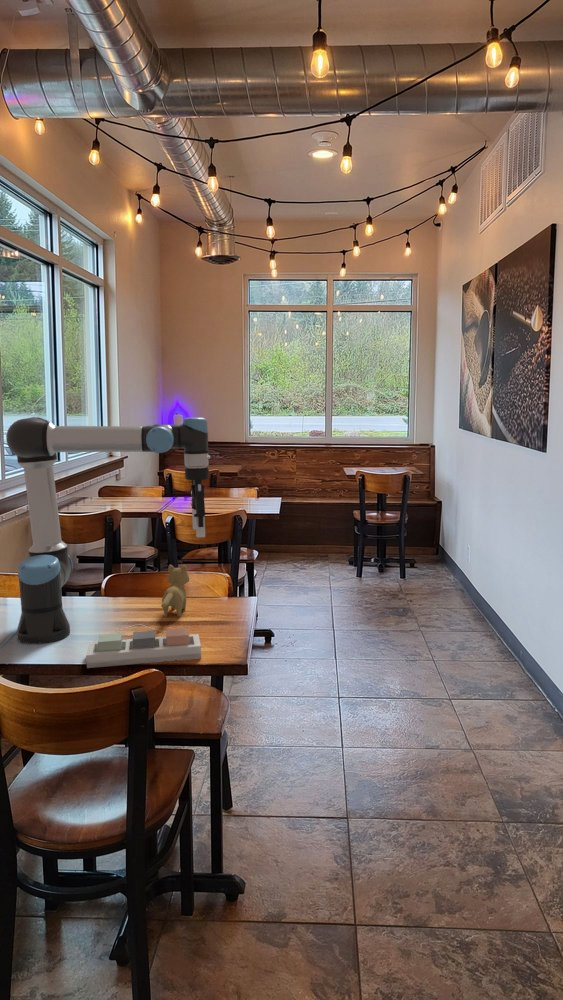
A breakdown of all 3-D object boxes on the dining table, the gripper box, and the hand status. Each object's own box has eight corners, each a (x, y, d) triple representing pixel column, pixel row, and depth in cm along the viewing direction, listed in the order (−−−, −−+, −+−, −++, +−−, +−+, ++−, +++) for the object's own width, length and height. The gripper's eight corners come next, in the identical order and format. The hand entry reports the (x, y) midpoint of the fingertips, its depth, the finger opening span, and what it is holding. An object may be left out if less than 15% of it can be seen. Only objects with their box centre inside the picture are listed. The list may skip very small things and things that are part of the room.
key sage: (98, 650, 185) (97, 642, 185) (99, 642, 191) (99, 634, 191) (121, 648, 187) (121, 640, 186) (122, 641, 192) (121, 632, 192)
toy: (193, 604, 239) (191, 561, 237) (175, 627, 215) (173, 580, 213) (172, 603, 240) (170, 561, 237) (152, 627, 216) (150, 579, 213)
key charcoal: (132, 647, 187) (132, 639, 187) (133, 640, 193) (133, 632, 193) (155, 646, 188) (155, 637, 188) (155, 638, 194) (155, 630, 194)
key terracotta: (166, 645, 189) (166, 636, 188) (166, 637, 195) (166, 629, 194) (189, 643, 190) (188, 634, 189) (188, 636, 196) (187, 627, 195)
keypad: (86, 668, 184) (86, 655, 183) (90, 654, 193) (89, 642, 193) (201, 658, 189) (200, 646, 188) (198, 645, 199) (198, 633, 198)
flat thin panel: (146, 641, 203) (114, 631, 212) (146, 643, 203) (115, 632, 212) (169, 633, 209) (138, 623, 219) (169, 634, 210) (138, 625, 219)
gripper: (213, 470, 209) (215, 539, 212) (204, 462, 233) (206, 525, 236) (188, 471, 207) (190, 541, 210) (182, 463, 231) (184, 526, 234)
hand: (198, 533), depth 223 cm, fingers open, 13 cm apart
